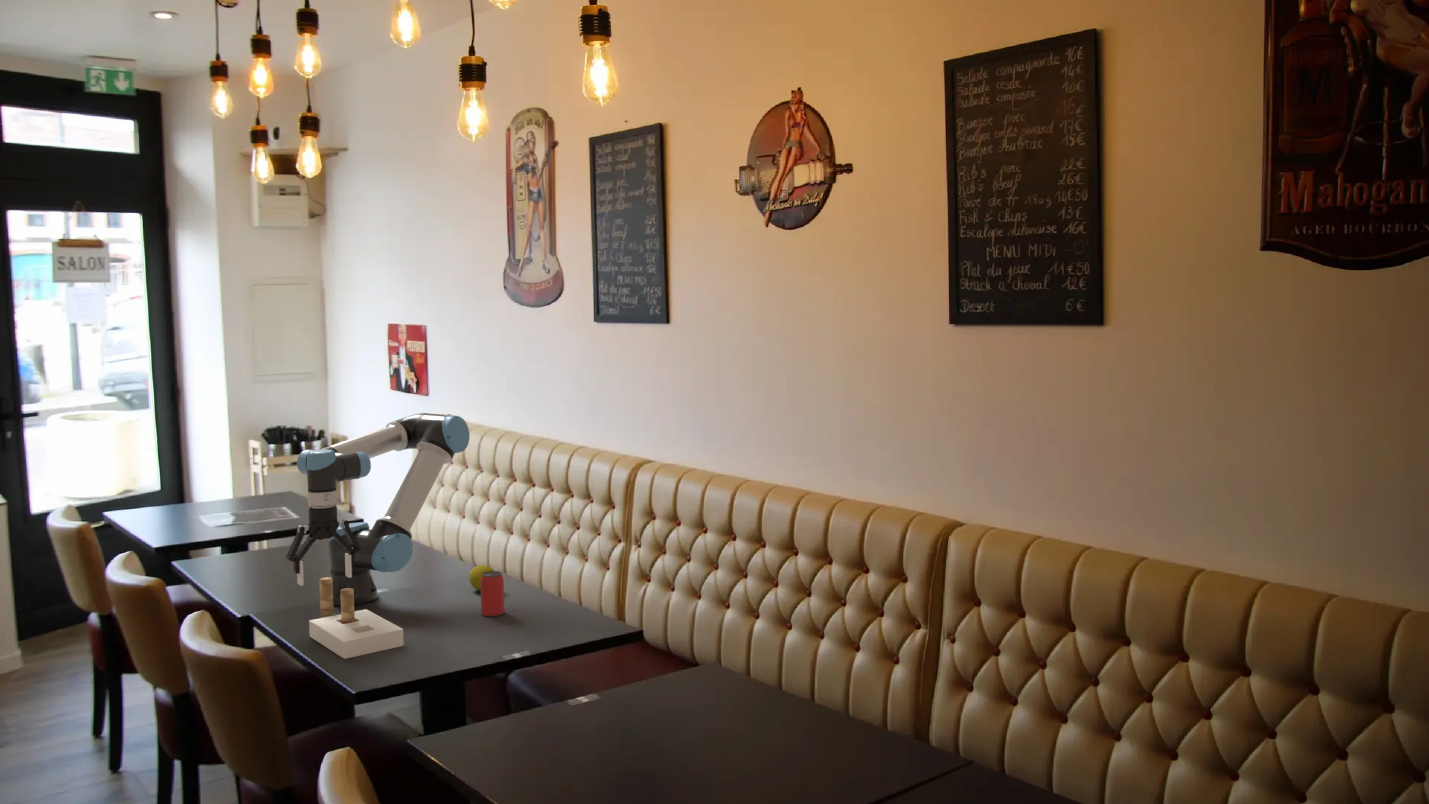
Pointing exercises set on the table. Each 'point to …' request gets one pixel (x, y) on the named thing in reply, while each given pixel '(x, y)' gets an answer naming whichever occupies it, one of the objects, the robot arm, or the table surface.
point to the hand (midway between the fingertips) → (324, 580)
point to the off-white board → (356, 634)
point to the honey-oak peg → (326, 597)
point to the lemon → (478, 575)
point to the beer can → (492, 594)
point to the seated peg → (347, 605)
